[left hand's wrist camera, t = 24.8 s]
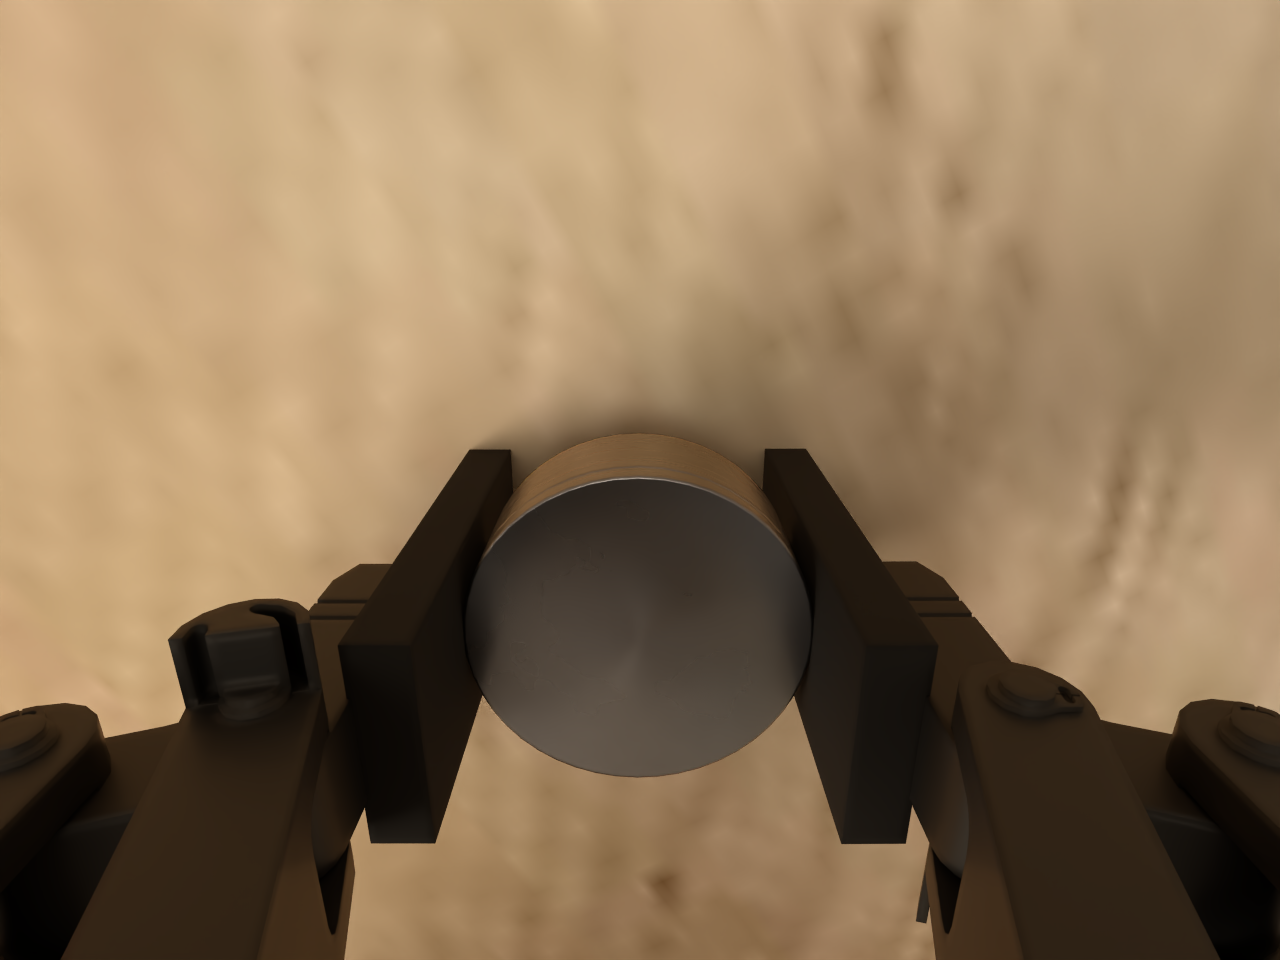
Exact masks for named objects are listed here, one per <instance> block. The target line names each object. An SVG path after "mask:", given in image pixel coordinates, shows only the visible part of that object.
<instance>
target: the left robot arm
mask: <svg viewBox="0 0 1280 960" xmlns="http://www.w3.org/2000/svg"><path fill="white" fill-rule="evenodd" d="M763 492H764V494H765V495H766V497H767V498H768V500H769V501H770V503H771V504H772V506H773V508H774V509H775V511H776V514H777V516H778V518H779V520H780V522H781V525H782V527H783V529H784V532H785V534H786V536H787V539H788V541H789V543H790V546H791V548H792V550H793V553H794V555H795V557H796V560H797V562H798V564H799V567H800V569H801V571H802V574H803V576H804V579H805V581H806V585H807V588H808V592H809V595H810V599H811V606H812V613H813V637H812V646H811V652H810V657H809V661H808V664H807V667H806V670H805V673H804V676H803V678H802V680H801V682H800V684H799V686H798V688H797V690H796V692H795V694H794V697H795V700H796V703H797V706H798V709H799V712H800V716H801V719H802V722H803V725H804V728H805V731H806V734H807V738H808V741H809V744H810V747H811V750H812V753H813V756H814V759H815V763H816V766H817V769H818V772H819V775H820V778H821V781H822V785H823V788H824V791H825V794H826V797H827V800H828V803H829V807H830V810H831V813H832V816H833V819H834V822H835V825H836V828H837V832H838V835H839V838H840V841H841V844H906V839H907V833H908V827H909V821H910V815H911V809H912V805H913V808H914V810H915V812H916V814H917V816H918V819H919V821H920V823H921V825H922V827H923V830H924V832H925V834H926V836H927V838H928V841H929V848H928V854H927V859H926V865H925V870H924V876H923V881H922V887H921V892H920V898H919V903H918V910H917V917H916V921H917V922H922V923H926V922H927V917H928V912H929V907H930V915H931V923H932V931H933V939H934V947H935V955H936V960H1280V714H1278V713H1277V712H1275V711H1272V710H1269V709H1266V708H1263V707H1260V706H1258V707H1255V706H1254V705H1253V704H1248V703H1243V702H1234V701H1225V700H1216V699H1208V700H1201V701H1195V702H1190V703H1189V704H1188V705H1186V706H1185V707H1184V708H1183V709H1181V710H1180V711H1179V715H1178V718H1177V721H1176V724H1175V727H1174V731H1173V734H1167V733H1162V732H1157V731H1152V730H1147V729H1142V728H1136V727H1131V726H1126V725H1121V724H1116V723H1111V722H1107V721H1103V720H1100V718H1099V716H1098V714H1097V712H1096V710H1095V708H1094V706H1093V705H1092V704H1091V702H1090V701H1089V700H1088V699H1087V698H1086V696H1085V695H1084V694H1083V693H1082V692H1081V691H1080V690H1078V689H1077V688H1076V687H1074V686H1073V685H1071V684H1070V683H1068V682H1067V681H1065V680H1064V679H1062V678H1060V677H1058V676H1056V675H1053V674H1051V673H1048V672H1046V671H1044V670H1041V669H1039V668H1036V667H1032V666H1027V665H1023V664H1018V663H1014V662H1011V661H1010V660H1009V659H1008V657H1007V656H1006V655H1005V654H1004V652H1003V651H1002V650H1001V649H1000V647H999V646H998V645H997V644H996V642H995V641H994V640H993V639H992V637H991V636H990V635H989V634H988V633H987V631H986V630H985V629H984V628H983V626H982V625H981V624H980V623H979V621H978V620H977V619H976V618H975V617H972V613H971V612H970V610H969V609H968V608H967V607H966V605H965V604H964V603H963V602H962V601H959V597H958V595H957V594H956V593H955V592H954V590H953V589H952V588H951V587H950V586H949V584H948V583H947V582H946V581H945V579H944V578H943V577H941V576H939V575H938V574H936V573H934V572H933V571H931V570H930V569H928V568H926V567H925V566H923V565H921V564H920V563H918V562H882V561H881V559H880V558H879V556H878V555H877V553H876V552H875V550H874V549H873V548H872V546H871V545H870V543H869V542H868V540H867V539H866V537H865V536H864V534H863V533H862V531H861V530H860V528H859V527H858V525H857V524H856V522H855V521H854V519H853V518H852V516H851V515H850V514H849V512H848V511H847V509H846V508H845V506H844V505H843V503H842V502H841V500H840V499H839V497H838V496H837V494H836V493H835V491H834V490H833V488H832V487H831V485H830V484H829V482H828V481H827V480H826V478H825V477H824V475H823V474H822V472H821V471H820V469H819V468H818V466H817V465H816V463H815V462H814V460H813V459H812V457H811V456H810V454H809V453H808V451H807V450H806V449H765V459H764V475H763ZM512 494H513V482H512V466H511V451H510V450H469V451H468V453H467V454H466V456H465V457H464V459H463V460H462V462H461V463H460V465H459V466H458V468H457V469H456V471H455V472H454V473H453V475H452V476H451V478H450V479H449V481H448V482H447V484H446V485H445V487H444V488H443V490H442V491H441V493H440V494H439V496H438V497H437V499H436V500H435V502H434V503H433V505H432V506H431V508H430V509H429V510H428V512H427V513H426V515H425V516H424V518H423V519H422V521H421V522H420V524H419V525H418V527H417V528H416V530H415V531H414V533H413V534H412V536H411V537H410V539H409V540H408V542H407V543H406V545H405V546H404V547H403V549H402V550H401V552H400V553H399V555H398V556H397V558H396V559H395V561H394V562H393V564H359V565H358V566H356V567H354V568H353V569H351V570H349V571H348V572H346V573H344V574H343V575H341V576H340V577H338V578H336V579H335V580H333V581H332V582H331V584H330V585H329V586H328V587H327V589H326V590H325V591H324V592H323V594H322V595H321V596H320V597H319V599H318V603H317V604H314V605H313V606H312V607H311V609H310V610H309V611H308V610H307V609H305V608H304V607H303V606H301V605H300V604H299V603H297V602H292V601H288V600H283V599H253V600H248V601H243V602H238V603H233V604H228V605H225V606H222V607H220V608H217V609H214V610H211V611H209V612H206V613H203V614H201V615H199V616H198V617H196V618H194V619H193V620H191V621H189V622H187V623H186V624H184V625H182V626H181V627H180V628H179V629H178V630H177V631H176V632H175V633H174V634H173V635H172V636H171V637H170V638H169V639H168V642H169V646H170V649H171V653H172V657H173V661H174V665H175V668H176V672H177V676H178V680H179V684H180V688H181V691H182V695H183V699H184V703H185V707H186V709H185V711H184V713H183V715H182V717H181V719H180V721H179V723H175V724H172V725H168V726H164V727H159V728H154V729H149V730H144V731H138V732H133V733H128V734H123V735H118V736H113V737H108V738H104V735H103V732H102V729H101V726H100V722H99V719H98V716H97V714H95V713H94V712H93V711H92V710H90V709H89V708H88V707H86V706H82V705H75V704H68V703H61V704H52V705H43V706H34V707H29V708H25V709H23V710H22V711H19V710H17V711H14V712H11V713H8V714H5V715H3V716H0V960H344V956H345V949H346V941H347V933H348V925H349V917H350V909H351V901H352V893H353V885H354V877H355V868H354V860H353V854H352V848H351V843H350V839H351V837H352V834H353V832H354V830H355V828H356V826H357V823H358V821H359V819H360V817H361V815H362V812H363V810H364V808H365V811H366V817H367V823H368V829H369V835H370V841H371V843H435V842H436V839H437V836H438V833H439V830H440V827H441V824H442V820H443V817H444V814H445V811H446V808H447V805H448V802H449V798H450V795H451V792H452V789H453V786H454V783H455V780H456V776H457V773H458V770H459V767H460V764H461V761H462V757H463V754H464V751H465V748H466V745H467V742H468V739H469V735H470V732H471V729H472V726H473V723H474V720H475V717H476V713H477V710H478V707H479V704H480V701H481V698H482V693H481V691H480V689H479V687H478V685H477V683H476V681H475V679H474V677H473V674H472V671H471V668H470V665H469V661H468V658H467V654H466V648H465V642H464V628H463V616H464V609H465V602H466V596H467V593H468V589H469V586H470V583H471V579H472V577H473V574H474V572H475V570H476V568H477V565H478V563H479V561H480V559H481V556H482V554H483V552H484V550H485V547H486V545H487V543H488V541H489V538H490V536H491V534H492V532H493V529H494V527H495V525H496V523H497V521H498V519H499V516H500V514H501V512H502V510H503V508H504V506H505V505H506V503H507V502H508V500H509V499H510V497H511V496H512Z"/></svg>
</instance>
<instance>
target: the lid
mask: <svg viewBox="0 0 1280 960" xmlns="http://www.w3.org/2000/svg"><path fill="white" fill-rule="evenodd" d="M463 628H464V642H465V648H466V654H467V658H468V661H469V665H470V668H471V671H472V674H473V677H474V679H475V681H476V683H477V685H478V687H479V689H480V691H481V693H482V695H483V696H484V698H485V699H486V701H487V702H488V704H489V705H490V707H491V708H492V710H493V711H494V712H495V713H496V714H497V715H498V716H499V718H500V719H501V720H502V721H503V722H504V723H505V724H506V725H507V726H508V727H509V728H510V729H511V730H512V731H513V732H515V733H516V734H517V735H518V736H519V737H520V738H521V739H523V740H524V741H526V742H527V743H529V744H530V745H532V746H533V747H534V748H536V749H537V750H539V751H541V752H543V753H545V754H547V755H548V756H550V757H552V758H554V759H556V760H558V761H561V762H564V763H566V764H569V765H571V766H574V767H576V768H580V769H584V770H587V771H591V772H595V773H600V774H606V775H612V776H622V777H657V776H665V775H671V774H678V773H682V772H686V771H690V770H694V769H698V768H701V767H703V766H706V765H709V764H711V763H714V762H716V761H719V760H721V759H723V758H725V757H727V756H729V755H731V754H733V753H735V752H737V751H738V750H740V749H741V748H743V747H744V746H746V745H747V744H749V743H750V742H752V741H753V740H754V739H756V738H757V737H758V736H759V735H760V734H761V733H763V732H764V731H765V730H766V729H767V728H768V727H769V726H770V725H771V724H772V723H773V722H774V721H775V720H776V719H777V718H778V717H779V715H780V714H781V713H782V712H783V711H784V709H785V708H786V706H787V705H788V703H789V702H790V701H791V699H792V698H793V696H794V694H795V692H796V690H797V688H798V686H799V684H800V682H801V680H802V678H803V676H804V673H805V670H806V667H807V664H808V661H809V657H810V652H811V646H812V637H813V613H812V606H811V599H810V595H809V592H808V588H807V585H806V581H805V579H804V576H803V574H802V571H801V569H800V567H799V564H798V562H797V560H796V557H795V555H794V553H793V550H792V548H791V546H790V543H789V541H788V539H787V536H786V534H785V532H784V529H783V527H782V525H781V522H780V520H779V518H778V516H777V514H776V511H775V509H774V508H773V506H772V504H771V503H770V501H769V500H768V498H767V497H766V495H765V494H764V492H763V491H762V490H761V489H760V488H759V487H758V485H757V484H756V483H755V482H754V481H753V480H752V478H750V477H749V476H748V475H747V474H746V473H745V472H744V471H742V470H741V469H740V468H739V467H738V466H737V465H735V464H734V463H732V462H731V461H729V460H728V459H726V458H725V457H723V456H722V455H720V454H718V453H716V452H714V451H712V450H710V449H708V448H706V447H704V446H702V445H699V444H696V443H693V442H690V441H687V440H684V439H680V438H675V437H670V436H665V435H659V434H645V433H634V434H618V435H612V436H607V437H601V438H597V439H594V440H590V441H587V442H584V443H581V444H578V445H576V446H574V447H571V448H569V449H567V450H565V451H563V452H561V453H559V454H557V455H556V456H554V457H553V458H551V459H549V460H548V461H546V462H545V463H543V464H542V465H541V466H539V467H538V468H537V469H536V470H535V471H534V472H532V473H531V474H530V475H529V476H528V477H527V478H526V479H525V480H524V481H523V482H522V483H521V484H520V486H519V487H518V488H517V489H516V490H515V491H514V493H513V494H512V496H511V497H510V499H509V500H508V502H507V503H506V505H505V506H504V508H503V510H502V512H501V514H500V516H499V519H498V521H497V523H496V525H495V527H494V529H493V532H492V534H491V536H490V538H489V541H488V543H487V545H486V547H485V550H484V552H483V554H482V556H481V559H480V561H479V563H478V565H477V568H476V570H475V572H474V574H473V577H472V579H471V583H470V586H469V589H468V593H467V596H466V602H465V609H464V616H463Z"/></svg>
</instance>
